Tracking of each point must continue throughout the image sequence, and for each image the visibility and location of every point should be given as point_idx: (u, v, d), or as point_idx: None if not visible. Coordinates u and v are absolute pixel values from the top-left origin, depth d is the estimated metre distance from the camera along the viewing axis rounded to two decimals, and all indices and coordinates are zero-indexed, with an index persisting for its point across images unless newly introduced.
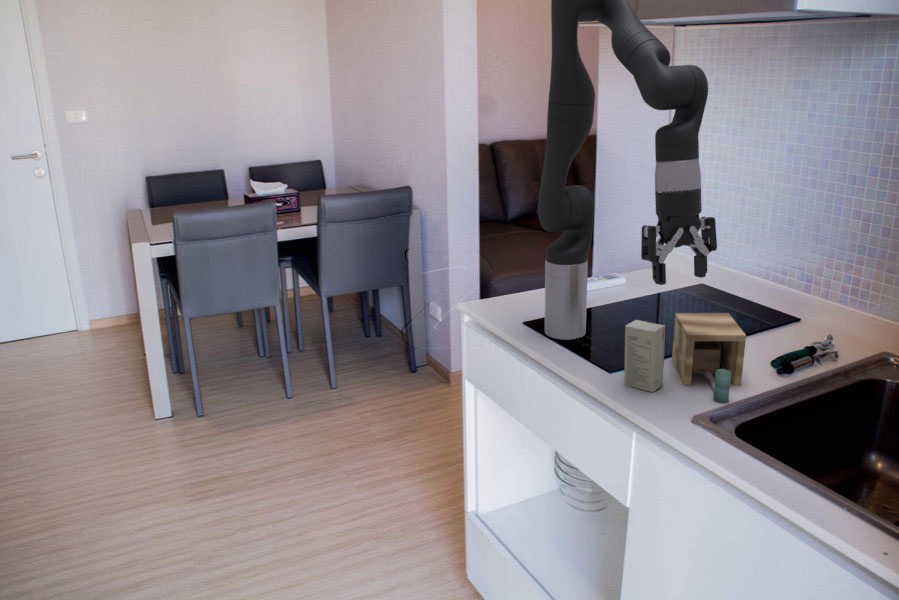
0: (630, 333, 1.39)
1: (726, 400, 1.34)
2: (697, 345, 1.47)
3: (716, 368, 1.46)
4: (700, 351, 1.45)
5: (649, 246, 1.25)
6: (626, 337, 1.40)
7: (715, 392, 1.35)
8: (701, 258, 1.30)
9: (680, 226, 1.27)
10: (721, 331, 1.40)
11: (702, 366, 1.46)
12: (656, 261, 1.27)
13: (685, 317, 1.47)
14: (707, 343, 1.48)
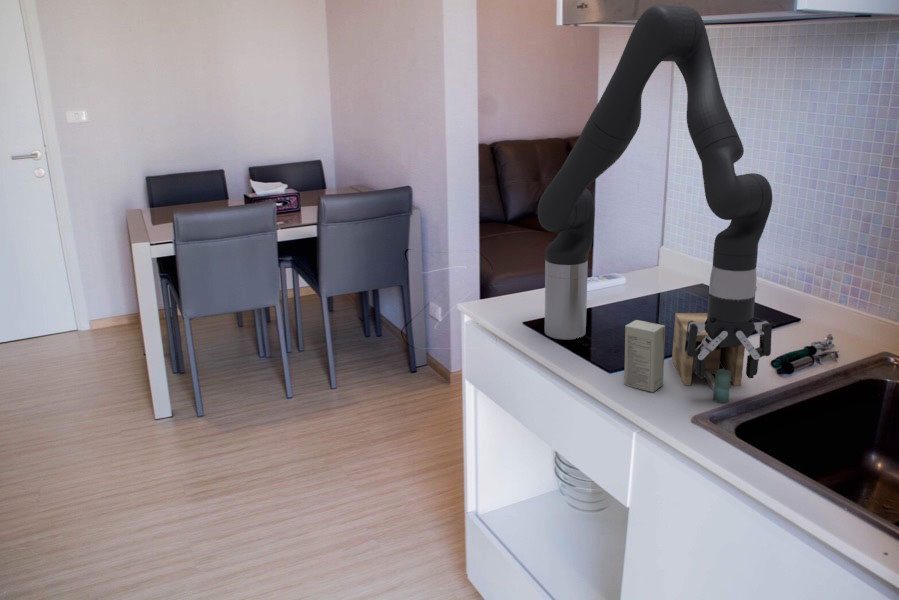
0: (630, 333, 1.39)
1: (726, 400, 1.34)
2: (697, 345, 1.47)
3: (716, 368, 1.46)
4: None
5: (688, 342, 1.31)
6: (626, 337, 1.40)
7: (715, 392, 1.35)
8: (750, 360, 1.32)
9: (727, 328, 1.30)
10: None
11: None
12: (696, 356, 1.32)
13: (685, 317, 1.47)
14: None
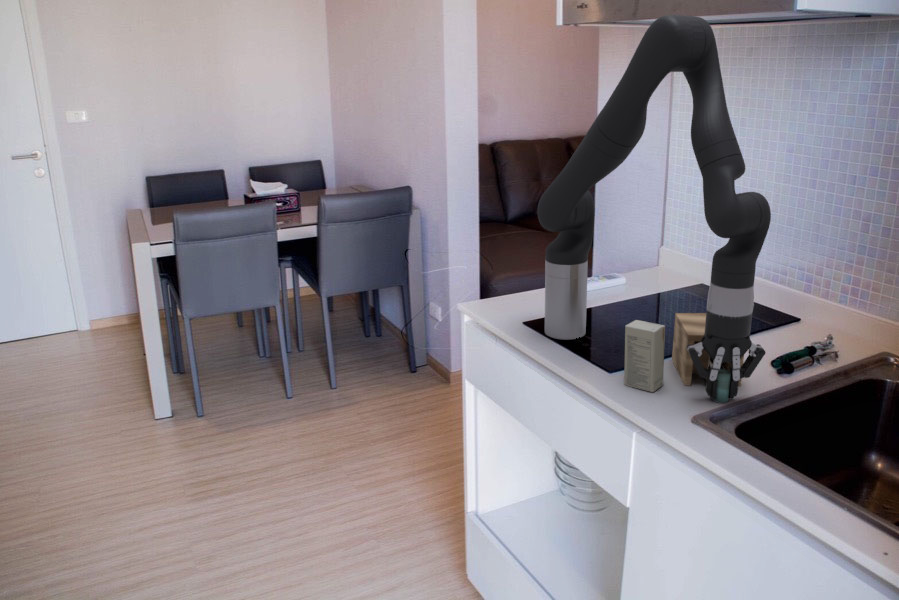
0: (630, 333, 1.39)
1: (726, 400, 1.34)
2: None
3: None
4: None
5: (695, 366, 1.33)
6: (626, 337, 1.40)
7: None
8: (731, 382, 1.33)
9: (722, 343, 1.31)
10: None
11: None
12: (708, 377, 1.34)
13: (685, 317, 1.47)
14: None
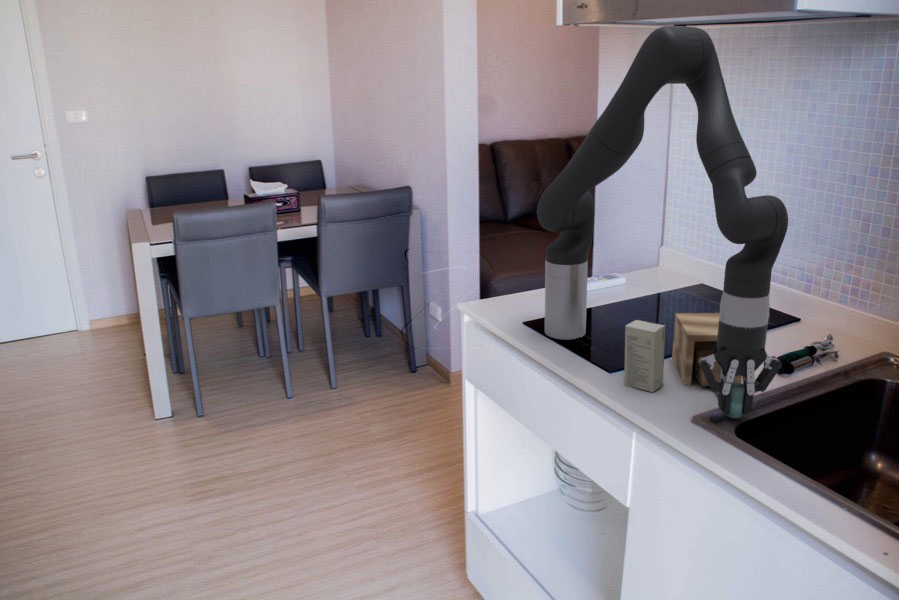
0: (630, 333, 1.39)
1: (740, 415, 1.27)
2: (706, 356, 1.40)
3: None
4: None
5: (707, 379, 1.26)
6: (626, 337, 1.40)
7: None
8: (745, 396, 1.26)
9: (735, 355, 1.24)
10: None
11: None
12: (720, 391, 1.26)
13: (685, 317, 1.47)
14: None
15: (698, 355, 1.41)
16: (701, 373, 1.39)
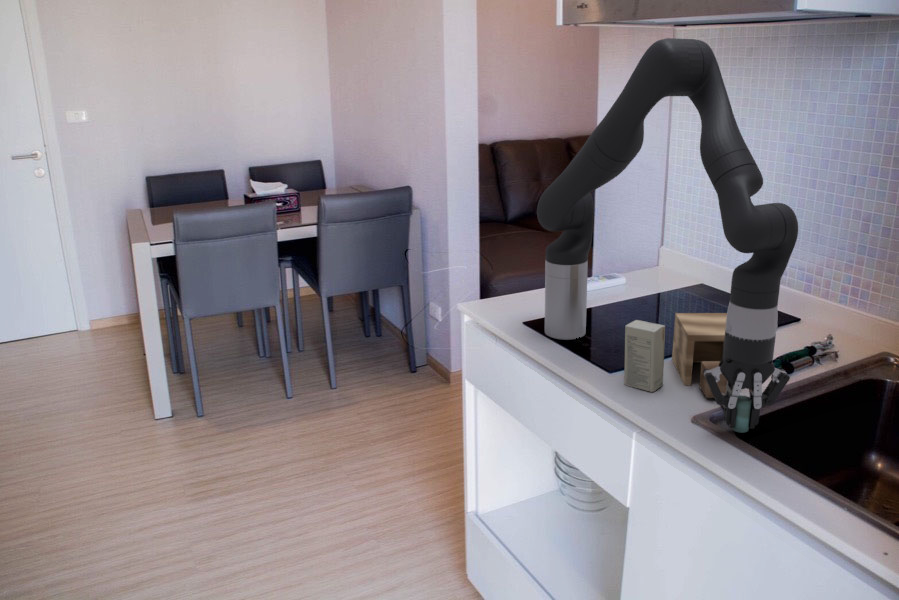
0: (630, 333, 1.39)
1: (746, 429, 1.23)
2: (711, 367, 1.36)
3: None
4: None
5: (712, 392, 1.21)
6: (626, 337, 1.40)
7: None
8: (751, 410, 1.22)
9: (742, 368, 1.19)
10: (721, 331, 1.40)
11: None
12: (726, 405, 1.22)
13: (685, 317, 1.47)
14: None
15: (703, 366, 1.37)
16: (706, 384, 1.35)
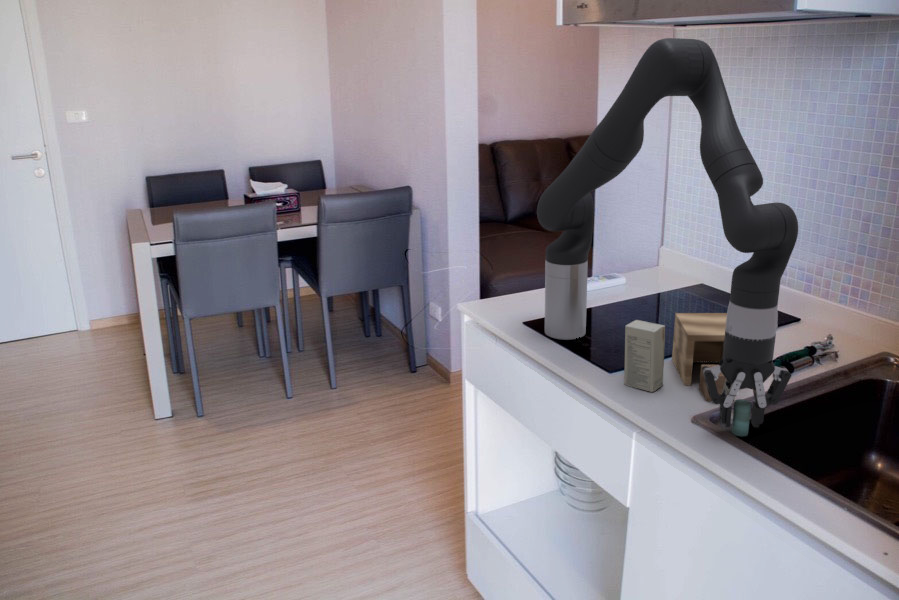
0: (630, 333, 1.39)
1: (746, 433, 1.23)
2: None
3: None
4: None
5: (709, 390, 1.21)
6: (626, 337, 1.40)
7: (734, 424, 1.23)
8: (756, 409, 1.22)
9: (743, 368, 1.19)
10: (721, 331, 1.40)
11: None
12: (721, 403, 1.22)
13: (685, 317, 1.47)
14: None
15: None
16: (705, 388, 1.35)
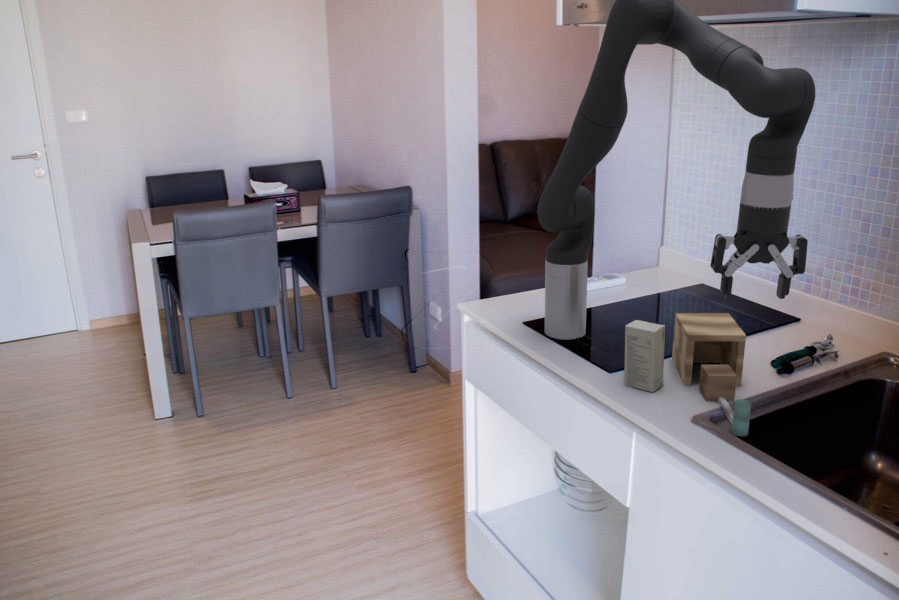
0: (630, 333, 1.39)
1: (746, 433, 1.23)
2: (711, 370, 1.36)
3: (732, 396, 1.35)
4: (715, 378, 1.34)
5: (715, 257, 1.21)
6: (626, 337, 1.40)
7: (734, 424, 1.23)
8: (782, 279, 1.21)
9: (758, 242, 1.19)
10: (721, 331, 1.40)
11: (716, 394, 1.35)
12: (723, 273, 1.22)
13: (685, 317, 1.47)
14: (721, 368, 1.36)
15: (702, 369, 1.37)
16: (705, 388, 1.35)
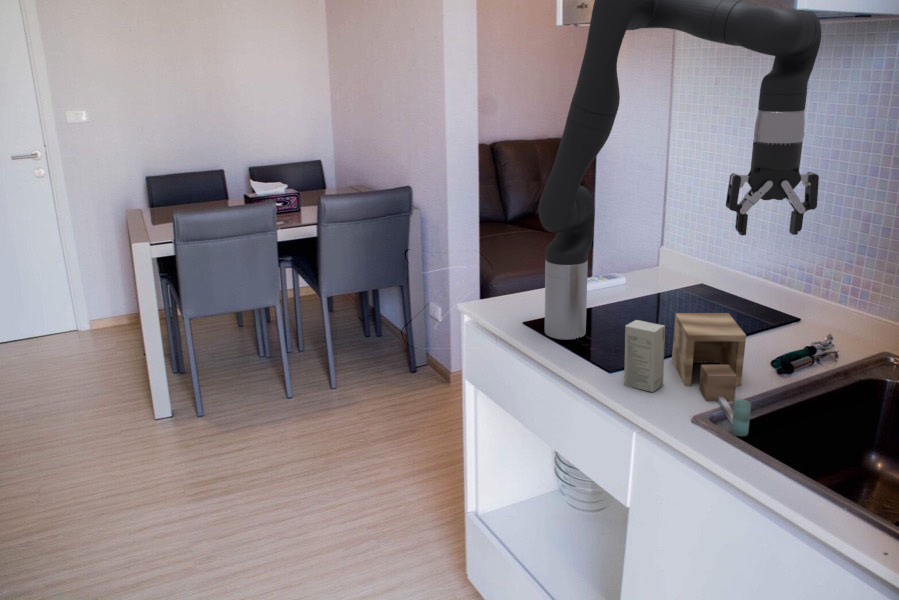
0: (630, 333, 1.39)
1: (746, 433, 1.23)
2: (711, 370, 1.36)
3: (732, 396, 1.35)
4: (715, 378, 1.34)
5: (731, 195, 1.25)
6: (626, 337, 1.40)
7: (734, 424, 1.23)
8: (795, 215, 1.26)
9: (772, 179, 1.24)
10: (721, 331, 1.40)
11: (716, 394, 1.35)
12: (738, 211, 1.27)
13: (685, 317, 1.47)
14: (721, 368, 1.36)
15: (702, 369, 1.37)
16: (705, 388, 1.35)
